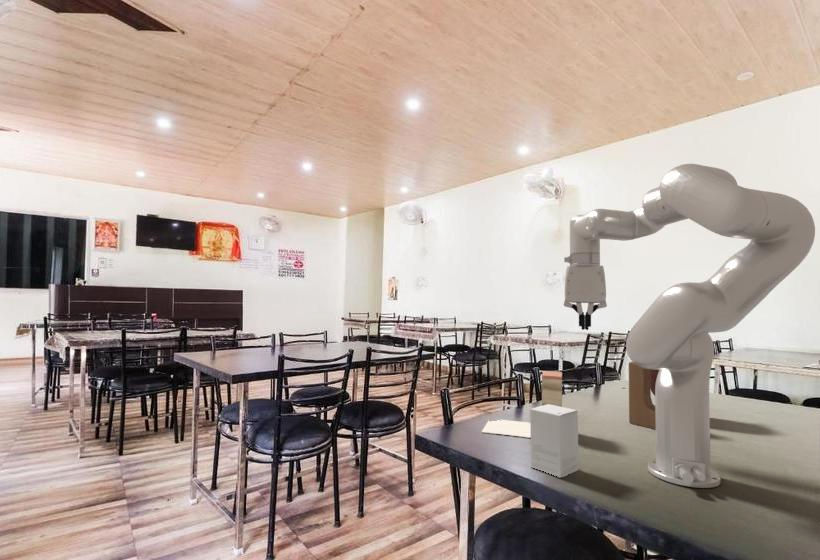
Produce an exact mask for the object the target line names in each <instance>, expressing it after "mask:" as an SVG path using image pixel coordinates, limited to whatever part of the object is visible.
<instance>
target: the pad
mask: <svg viewBox="0 0 820 560" xmlns="http://www.w3.org/2000/svg"><path fill="white" fill-rule="evenodd" d="M500 420H501V421H500ZM500 420H497V421H491V422H490V421H489V420H488V421H487V422H486V424H485V425H484V427H483V428H482V429H481V434H487V433H489V435H496V434H502V435H501V436H504V435H511V436H510V437H513V436H519V437H518V438H521V437H526V438H525V439H530V438H531V433H530V422H528V421H527V422H526V421H517V420H509V419H500Z"/></svg>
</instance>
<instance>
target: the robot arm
mask: <svg viewBox="0 0 820 560" xmlns="http://www.w3.org/2000/svg"><path fill="white" fill-rule="evenodd" d="M688 219H689V220H691V221H692V222H693V223H696V224H697V225H699V226H702V228H705V229H707V230H708V231H710V232H712V233H714V234H716V235H719V236H721V237H727V238H733V239H744V240H750V242H749V243H748V244H747V245H746V246H745V247H743V248H741V249H740V250H738V251H737V252H735V253H734V254H733V255H732V256H730V257H729V258H728V259H727V260H725V262H724V263H723V264H722V265H721V266H720V267H719V269H718V270H716V272H715V273H714V274H713V275H712V276H711V277H709V278H708V279H707V280H706V281H702V282H681V283H676V284H674V285H672V286H670V287H668V288H667V289H666V290H664V291H663V292H661V294H659V296H657V298H656V299H655V300H654V301H653V302H652V303H651V305H650V306H649V307H648V309H646V310H645V312H644V313H643V314H642V315H641V316H640V318H639V319H638V320H637V321H636V322H635V323H634V325H633V326H632V327H631V329H630V331H629V333H628V335H627V338H626V342H625V347H626V353H627V355H628V357H629V359H630V360H631V362H634V363H635V364H636V365H638V366H640V367H642V368H645V369H653V370H659V369H660V370H659V372H658V375H657V379H656V385H655V396H654V404H655V405H654V406H655V421H656V429H655V459H652V460H650V461H648V463H647V471H648V472H650V473H651V474H652V476H655V477H656V478H658V479H661V480H663V481H665V482H668V483H671V484H674V485H678V486H682V487H689V488H696V489H711V488H716V487H718V486H719V485H721V482H722V481H721V476H720V475H719V473H718V472H716V471H714V469H712V467H711V466H712V464H711V462H712V461H711V427H710V426H711V423H710V422H711V420H710V415H711V414H710V377H711V370H712V366H713V365H712V364H713V360H714V354H715V349H714V348H715V346H714V345H715V344H714V341H713V339H712V336H711V335H710V334H711V333H722V332H727V331H729V330H731V329H733V328H735V327H736V326H737V325H738V324H739V323H741V321H742V320H743V319H744V318H745V317H746V316H747V315H749V314H750V313H752V311H753V310H754V309H755V307H757V306H758V305H760V303H761V302H762V301H763V300H764V299H765V298H766V297H767V296H768V295H769V294H770V293H771V292H772V291H773V290H774V289H775V288H776V287H777V286H778V285H779V284H780V283H781V282H783V281H785V279H786V278H787V277H788V276H790V275H791V273H792V272H793V271H795V269H796V268H798V267H799V266H800V265H801V263H802V262H803V261H804V260H805V259H806V257H807V256H808V254H809V253H810V251H811V249H812V246H813V244H814V240H815V236H816V226H815V220H814V218H813V215H812V213H811V212H810V211H809V209H808V208H807V206H806V205H804V204H803V203H802V202H800V201H799V200H798V199H796V198H794V197H792V196H790V195H787V194H782V193H779V192H772V191H765V190H759V189H753V188H748V187H743V186H741V185H738V182H737V180H736V178H735V176H734V175H732V173H730V172H729V171H727V170H725V169H722V168H718V167H714V166H708V165H702V164H698V163H684V164H680V165H678V166H675V167H673V168H672V169H670V170H668V172H667V173H665V175H664V176H663V177H662V179H661V181H660V184H659V186H657V187H654V188H653V189H650V190H648V191H647V192H646V193H645V195H644V197H643V199H642V206H641V207H639V208H637V209H634V210H629V211H625V210H618V209H617V210H616V209H606V208H595V209H593V210H590V211H588V212H586V213H584V214H577V215H575V216H573V217H571V219H570V220H569V256H566V257H564V263H568V264H569V265H567V266H566V269H565V278H564V302H563V306H564V307H566V308H570V309H573V310H574V311H575V312H576V313H577V314H578V327H581V330H583V331H585V330H586V331H588V330H589V327H590V328H591V327H592V314H594V313H595V312H596V311H597V310H599V309H604V308H606V307H608V304H607V301H606V300H607V287H606V286H607V285H606V284H607V283H606V275H605V268H604V265H601V241H600V240H611V241H612V240H613V241H624V242H625V241H631V240H632V241H633V240H636V239H640V238H643V237H644V238H645V237H647V236H650V235H653V234H654V235H655V234H656V233H658V232H660V231H661V230H662V229H663V228H665V226H667V225H672V224H674V223H679V222H681V221H685V220H688ZM582 304H587V310H586V312H585V313H584V311H583V306H582ZM709 333H710V334H709Z"/></svg>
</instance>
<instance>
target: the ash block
mask: <svg viewBox="0 0 820 560" xmlns="http://www.w3.org/2000/svg"><path fill="white" fill-rule="evenodd" d="M547 404H550V405H555V406H560V407H563V372H562V371H549V370H548V371H547V370H543V371H542V373H541V406H543V405H547Z"/></svg>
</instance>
